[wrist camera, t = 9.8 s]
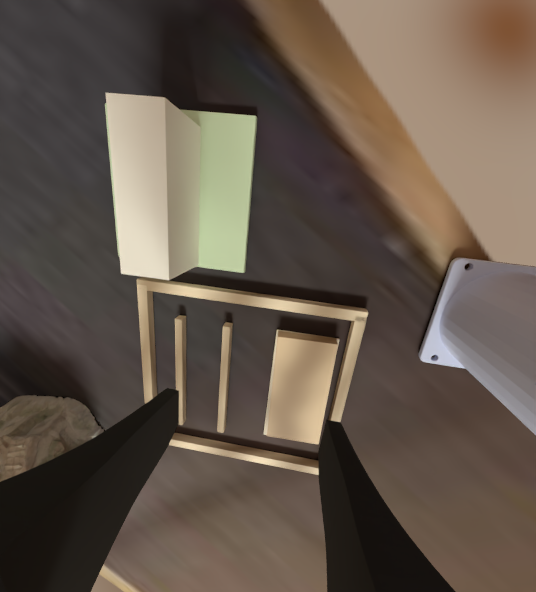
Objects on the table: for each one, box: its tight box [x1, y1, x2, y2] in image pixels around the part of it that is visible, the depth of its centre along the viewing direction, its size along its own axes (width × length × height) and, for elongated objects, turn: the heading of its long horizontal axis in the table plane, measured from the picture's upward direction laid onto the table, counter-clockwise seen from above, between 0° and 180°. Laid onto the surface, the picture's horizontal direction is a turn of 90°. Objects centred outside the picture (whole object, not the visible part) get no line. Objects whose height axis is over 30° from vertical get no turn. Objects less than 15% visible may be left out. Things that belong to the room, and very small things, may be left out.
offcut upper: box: [267, 331, 338, 444], centre depth 21 cm, size 5×10×1 cm, turn 176°
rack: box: [137, 277, 368, 475], centre depth 22 cm, size 18×17×1 cm
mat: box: [105, 103, 257, 273], centre depth 18 cm, size 10×10×1 cm
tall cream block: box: [106, 93, 201, 280], centre depth 16 cm, size 3×9×4 cm, turn 174°
